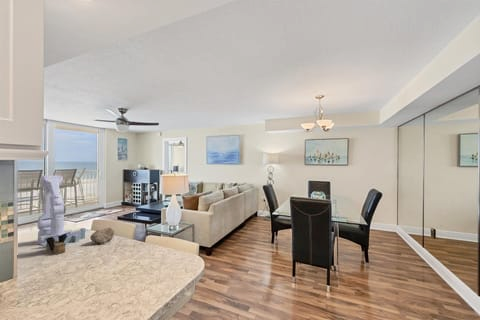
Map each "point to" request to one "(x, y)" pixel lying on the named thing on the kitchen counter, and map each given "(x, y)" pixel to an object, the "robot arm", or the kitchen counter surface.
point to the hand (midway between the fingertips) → (56, 249)
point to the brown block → (57, 247)
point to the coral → (102, 235)
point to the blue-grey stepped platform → (73, 236)
